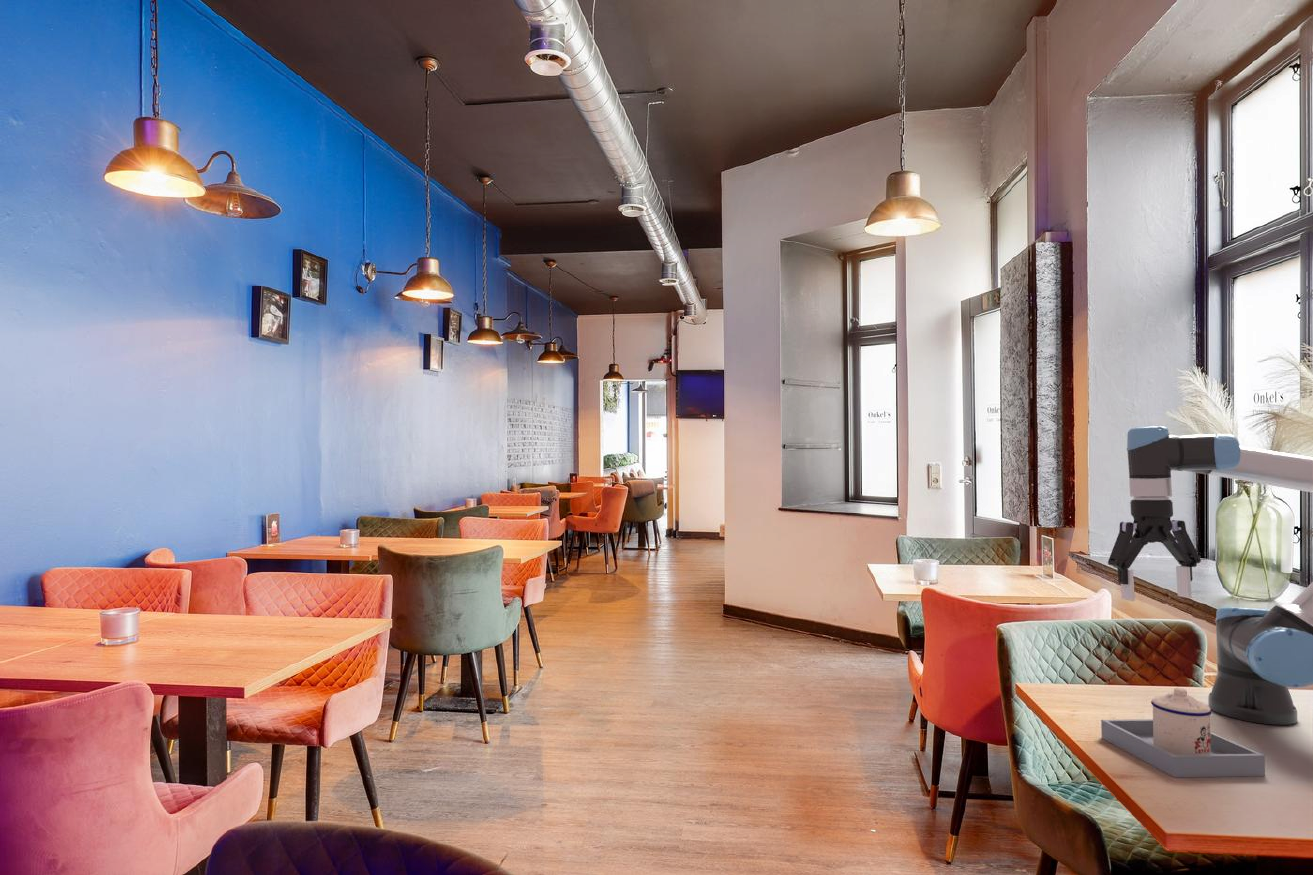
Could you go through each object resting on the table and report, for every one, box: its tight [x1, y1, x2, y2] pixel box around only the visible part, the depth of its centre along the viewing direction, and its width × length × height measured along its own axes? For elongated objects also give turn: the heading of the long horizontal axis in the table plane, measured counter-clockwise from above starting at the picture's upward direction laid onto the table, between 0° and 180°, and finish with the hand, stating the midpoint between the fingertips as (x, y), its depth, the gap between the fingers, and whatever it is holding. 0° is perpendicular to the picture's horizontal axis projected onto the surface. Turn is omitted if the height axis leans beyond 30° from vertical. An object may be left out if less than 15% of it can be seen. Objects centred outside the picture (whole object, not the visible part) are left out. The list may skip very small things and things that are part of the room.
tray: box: [1100, 718, 1266, 778], centre depth 136 cm, size 17×19×4 cm
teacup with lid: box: [1150, 687, 1213, 755], centre depth 136 cm, size 12×9×12 cm
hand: (1156, 598), depth 155 cm, fingers open, 13 cm apart
